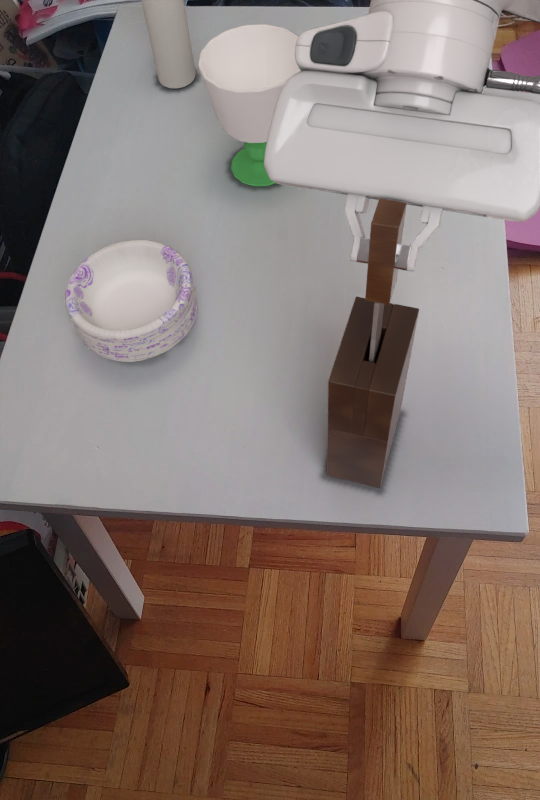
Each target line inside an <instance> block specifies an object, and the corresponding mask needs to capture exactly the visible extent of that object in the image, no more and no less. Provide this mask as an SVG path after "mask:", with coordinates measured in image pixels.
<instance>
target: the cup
mask: <svg viewBox="0 0 540 800" xmlns="http://www.w3.org/2000/svg"><path fill="white" fill-rule="evenodd" d="M298 36H299V35H297V34H295V33H293V32H292V31H290V30H288V29H287V28H285V27H280V26H277V25H271V24H267V23H263V24H262V23H261V24H260V23H259V24H244V25H241V26H237V27H233V28H230V29H226V30H224V31H222V32H221V33H220V34H218V35H216V36H214V37H213V38H211V39H209V41H208V42H207V43H206V45H205V46H204V47H203V48H202V50H201V51H200V53H199V57H198V69H199V72H200V75H201V78H202V81H203V84H204V85H205V88H206V91H207V93H208V96H209V99H210V101H211V104H212V107H213V110H214V113H215V115H216V118H217V119H218V122H219V125H220V126H221V128H222V130H223V131H225V133H226V134H227V135H229V136H231V138H233V139H234V140H236V141H240V142H243V143H244V144H243V148H242V149H240V150H239V151H238V152H236V154H235V155H234V157H233V158H232V160H231V167H230V170H231V172H232V174H233V176H234V178H235V179H237V180H238V181H239V182H240V183H242V184H244V185H248V186H251V187H269V186H271V185H275V184H276V183H275V182H273V181H271V180H270V178H269V176H268V174H267V172H266V170H265V168H264V156H265V149H266V143H267V138H268V133H269V129H270V125H271V121H272V117H273V113H274V109H275V106H276V102H277V99H278V96H279V94H280V91H281V89H282V87H283V86H284V84H285V83H286V81H287V80H288V79H289V78H290V77H291V76H292V75H294V74H296V73H298V72H300V71H301V70H300V69H299V67H298V65H297V63H296V60H295V46H296V41H297V38H298Z"/></svg>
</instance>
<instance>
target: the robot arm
mask: <svg viewBox="0 0 540 800" xmlns="http://www.w3.org/2000/svg"><path fill="white" fill-rule="evenodd" d="M368 8H369V9H368V14H367V13H366V14H364V15H361V16H357V17H353V18H351V19H347V20H343V21H338V22H334V23H331V24H327V25H323V26H319V27H314V28H310V29H307V30H305V31H302V32H301V33H300V34H299V35H297V36H298V38H297V41H296V46H295V60H296V63H297V65H298V67H299V69H300V70H301V71H300V72H298V73H296V74H294V75H292V76H291V77H290V78H289V79H288V80H287V81H286V83H285V84H284V86H283V87H282V89H281V91H280V94H279V96H278V99H277V102H276V106H275V109H274V113H273V117H272V121H271V125H270V129H269V133H268V138H267V143H266V149H265V156H264V168H265V170H266V172H267V174H268V176H269V178H270V180H271V181H273V182H275V184H278V185H282V186H287V187H293V188H300V189H306V190H313V191H319V192H325V193H331V194H337V195H342V196H343V195H344V196H346V199H345V205H344V213H345V216H346V219H347V223H348V226H349V228H350V231H351V235H352V236H353V242H352V245H351V246H352V247H351V252H350V261H351V262H356V263H360V264H367V265H368V257H369V244H370V238H367V237H366V234H365V230H364V227H363V224H362V221H361V217H360V214H362V215H365V214H367V212H368V206H369V202H370V200H376V201H379V199H380V198H381V199H387V200H393V201H400V202H406V203H407V204H406V206H414V207H419V208H422V209H421V214H420V218H419V221H420V222H421V223H422V225H423V224H424V225H425V226H424V227H423V228H422V229H421V231H420V232H419V233H418V234H417V235H416V237H415V238H414V239H413V241H412V242H411V243H410V244H409V245H407V244H402V243H401V244H399V248H398V252H397V255H398V257H397V258H396V262H395V268H396V269H398V270H401V271H407V272H411V273H413V272H415V269H416V266H417V260H418V258H419V257H418V256H419V252H420V248H422V247H423V246H424V245H425V244H426V243H427V242H428V240H429V239H430V238H431V237H432V236H433V234H434V233H435V232H437V230H438V229H439V227H440V226H441V221H442V216H443V212H444V211H445V212H451V213H459V214H465V215H471V216H477V217H484V218H490V219H495V220H503V221H507V222H508V221H509V222H514V223H515V222H516V223H524V222H526V221H528V220H530V219H531V218H533V217H534V216H535V215H536V214H537V213H538V212H539V210H540V75H533V76H532V75H524V74H519V73H516V72H514V71H513V72H512V71H505V70H498V69H490V67H489V66H490V63H491V57H492V53H493V49H494V44H495V41H496V36H497V33H498V32H497V31H498V28H499V25H500V24H499V23H500V19H501V15H502V11H503V12H505V13H507V14H510V15H513V16H515V17H518V18H521V19H524V20H527V21H530V22H533V23H537V24H540V0H370V3H369V7H368Z"/></svg>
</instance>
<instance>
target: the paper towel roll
mask: <svg viewBox="0 0 540 800" xmlns="http://www.w3.org/2000/svg"><path fill="white" fill-rule="evenodd" d="M140 1H141V5H142V10H143V15H144V19H145V23H146V29H147V34H148V38H149V42H150V47H151V51H152V56H153V61H154V65H155V70H156V74H157V79H158V82H159V83H160V84H161V85H162V86H163V87H164V88H168V89H181V88H184V87H186V86H189V85H191V84H192V82H194V80H195V78H196V74H197V72H196V67H195V61H194V55H193V48H192V43H191V37H190V30H189V24H188V18H187V12H186V7H185V0H140Z"/></svg>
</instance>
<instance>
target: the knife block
mask: <svg viewBox="0 0 540 800" xmlns="http://www.w3.org/2000/svg"><path fill="white" fill-rule="evenodd" d="M374 303H375V302H372V301H366V300H365V297H360V296H355V298H354V301H353V304H352V308H351V310H350V313H349V316H348V317H349V318H348V320H347V323H346V325H345V329H344V331H343V334H342V338H341V341H340V344H339V347H338V350H337V353H336V356H335V360H334V363H333V365H332V368H331V372H330V375H329V378H328V380H327V445H326V446H327V456H326V457H327V458H326V475H327V476H328V477H332V478H336V479H340V480H344V481H349V482H352V483H358V484H361V485H366V486H368V487H373V488H378V489H381V487H382V485H383V479H384V475H385V472H386V468H387V464H388V461H389V457H390V453H391V449H392V445H393V442H394V438H395V434H396V430H397V427H398V423H399V419H400V416H401V411H402V406H403V400H404V396H405V390H406V383H407V379H408V378H407V377H408V373H409V367H410V362H411V357H412V356H411V355H412V351H413V345H414V339H415V335H416V329H417V324H418V317H419V313H420V308H419V307H413V306H408V305H403V304H397V303H391V302H390V304H389V305H388V304H384V311H383V320H382V329H381V338H380V346H379V350H378V353H377V356H376V360H375V363H373V362H369V354H370V344H371V333H372V323H373V312H374Z"/></svg>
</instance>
